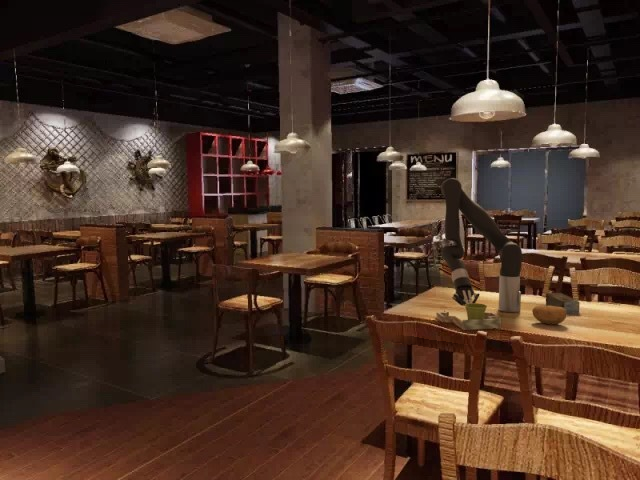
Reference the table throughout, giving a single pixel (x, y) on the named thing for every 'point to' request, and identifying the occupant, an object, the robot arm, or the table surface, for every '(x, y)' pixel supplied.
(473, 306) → the plant pot
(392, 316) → the table surface
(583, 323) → the table surface
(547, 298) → the beverage carton
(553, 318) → the potato
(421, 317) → the table surface
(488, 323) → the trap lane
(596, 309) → the table surface
